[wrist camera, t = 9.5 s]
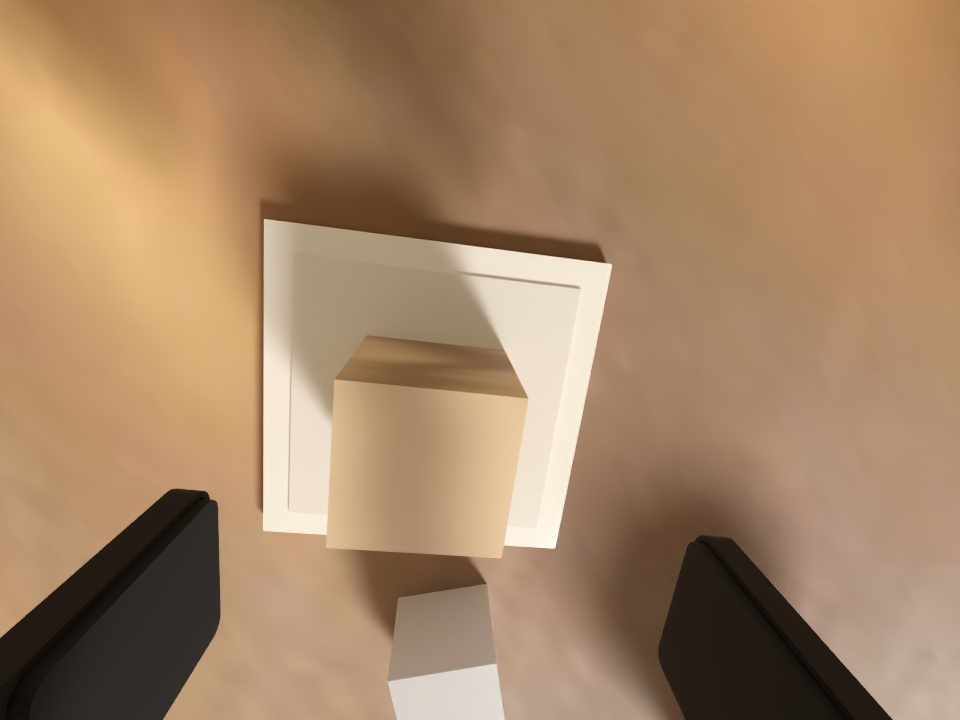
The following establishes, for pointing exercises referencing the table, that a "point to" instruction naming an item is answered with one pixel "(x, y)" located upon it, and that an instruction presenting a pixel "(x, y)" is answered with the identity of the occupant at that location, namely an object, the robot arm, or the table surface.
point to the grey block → (445, 657)
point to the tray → (430, 318)
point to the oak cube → (424, 448)
